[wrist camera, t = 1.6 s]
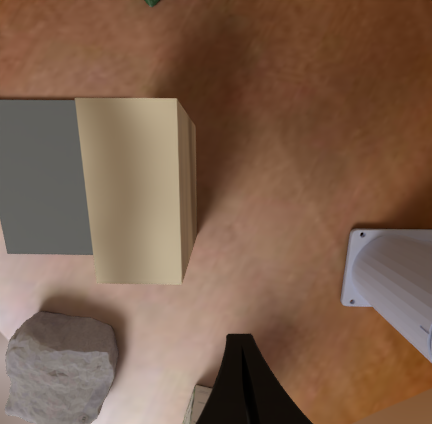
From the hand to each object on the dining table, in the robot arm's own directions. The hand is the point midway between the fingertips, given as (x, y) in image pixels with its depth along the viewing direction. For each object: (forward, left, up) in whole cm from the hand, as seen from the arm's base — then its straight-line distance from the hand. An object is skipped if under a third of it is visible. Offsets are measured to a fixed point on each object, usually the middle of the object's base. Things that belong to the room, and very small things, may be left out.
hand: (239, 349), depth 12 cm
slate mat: (+15, -8, -10) cm, 20 cm away
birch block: (+6, -8, -11) cm, 14 cm away
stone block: (+17, +12, -11) cm, 23 cm away
